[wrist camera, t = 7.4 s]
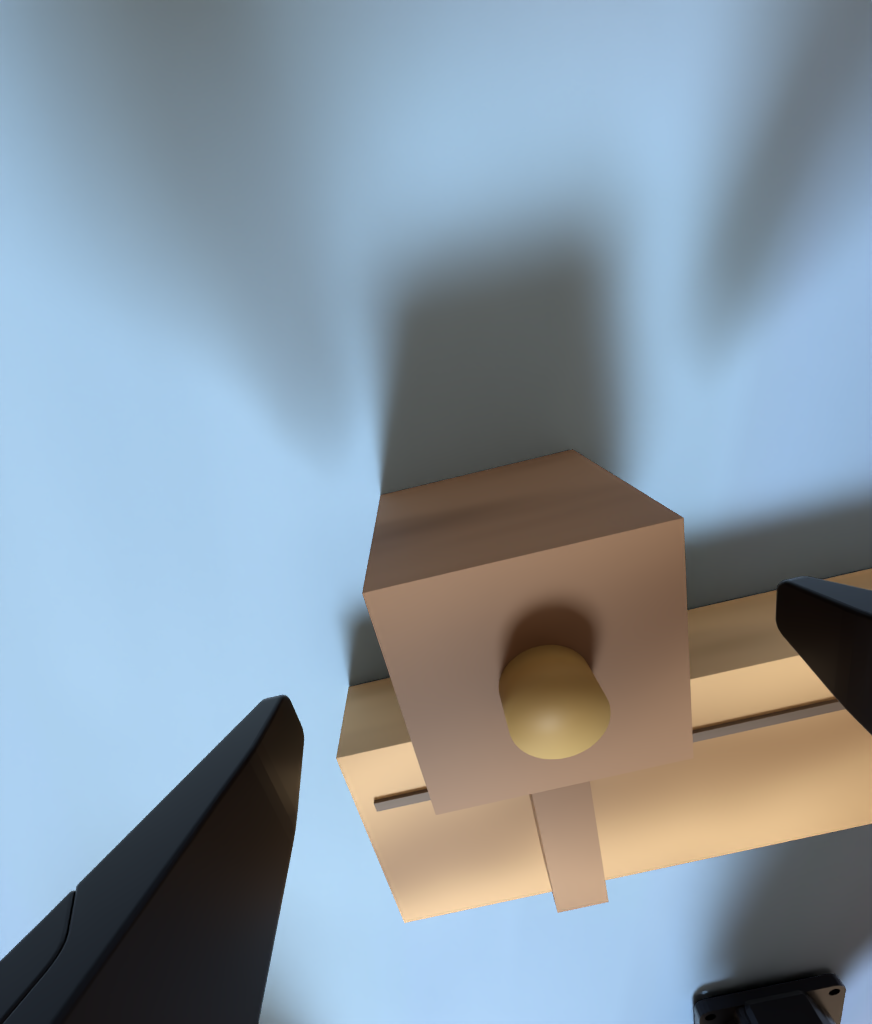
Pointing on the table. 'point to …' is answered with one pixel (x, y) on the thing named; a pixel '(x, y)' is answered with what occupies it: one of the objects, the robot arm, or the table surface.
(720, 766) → the board
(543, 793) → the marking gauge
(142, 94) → the table surface
